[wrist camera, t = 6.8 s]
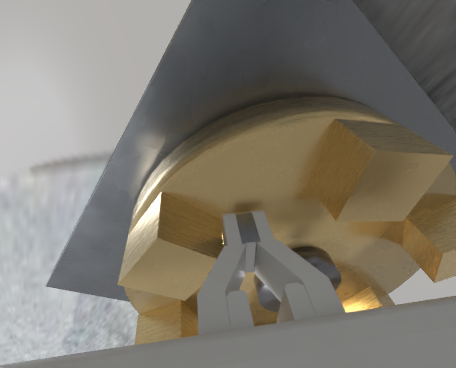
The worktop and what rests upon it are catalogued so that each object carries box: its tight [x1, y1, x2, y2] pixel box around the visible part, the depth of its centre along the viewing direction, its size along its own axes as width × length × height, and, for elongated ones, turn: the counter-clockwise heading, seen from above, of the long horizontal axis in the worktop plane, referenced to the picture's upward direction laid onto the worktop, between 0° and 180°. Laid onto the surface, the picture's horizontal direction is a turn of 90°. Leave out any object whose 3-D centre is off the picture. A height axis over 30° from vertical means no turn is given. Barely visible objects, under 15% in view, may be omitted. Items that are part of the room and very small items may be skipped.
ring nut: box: [118, 96, 456, 345], centre depth 16 cm, size 20×20×6 cm
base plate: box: [46, 0, 456, 302], centre depth 19 cm, size 24×24×2 cm
